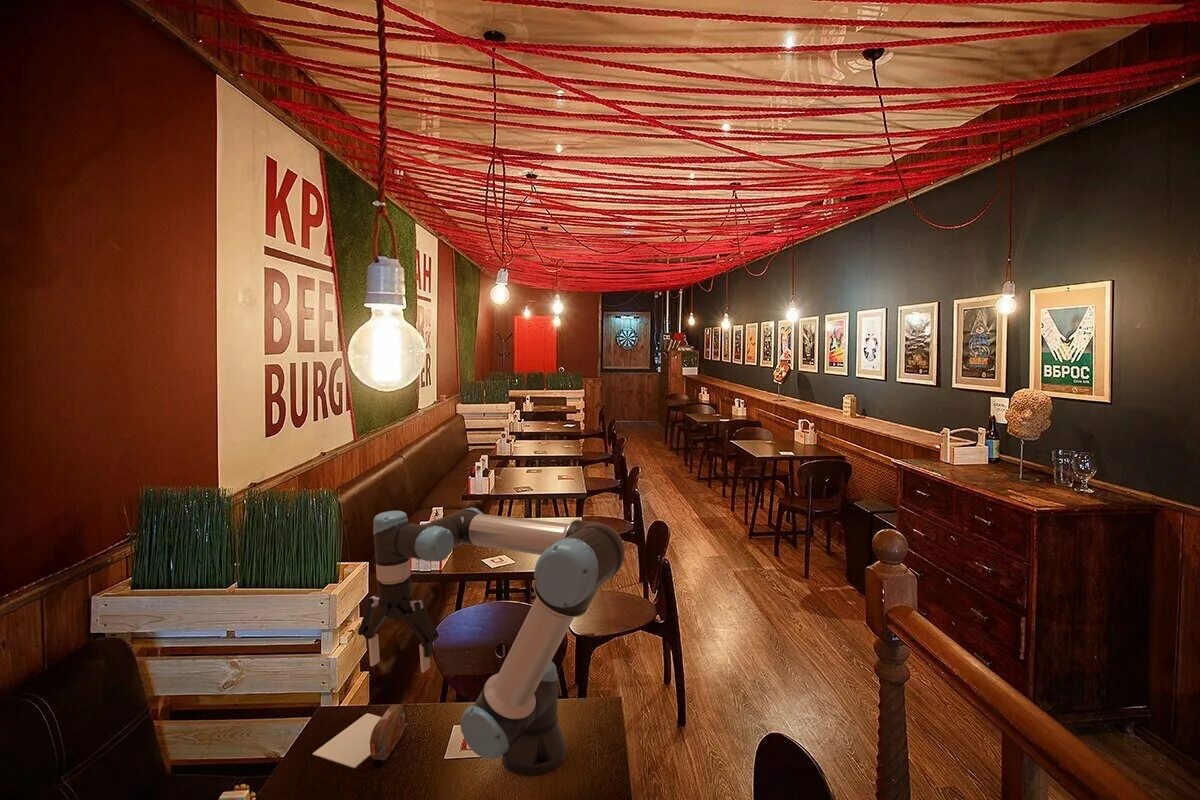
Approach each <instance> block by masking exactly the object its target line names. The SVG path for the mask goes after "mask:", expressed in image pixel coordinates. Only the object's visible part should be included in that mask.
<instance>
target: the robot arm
mask: <svg viewBox="0 0 1200 800" xmlns="http://www.w3.org/2000/svg"><path fill="white" fill-rule="evenodd" d="M408 521H409V519H408V515H407V513H406V512H404V511H402V510H389V511H384V512H380V513H378V514H377V515H375V516H374V518H373V532H372V535H373V540H374V541H373V543H374V553H375V555H374V556H375V570H376V571H375V573H376V581H377V584H376V587H377V594H374V595H373V596H370V597H369V598H367V601H366V609H365V612H364V614H363V617H362V620H361V621H360V625H359V627H358V630H357V635H358V636H363V637H364V638H365V645H366V651H368V652H369V654H368V655H369V667H374V666H375V665H377V664H378V663H379V662H380V661H381V659H380V657H381V656H380V646H379V645H380V643H379V641H380V640H379V634H376V633H377V631H378V630H379V628H380V627H381V625H382V624H383V623H384V621H385V620H386V619H387V618H388V619H389V620H391V619H396V620H399V621H400V620H402V622H403V623H406V624H407V625H408V627H409V628H410V629H411V631H413V633H414V634H415V636H416V637H417V638H418V640H419V641H420V642H421V643H420V644H419V646H418V647H419V660H420V661H419V662H420V672H421V673H425V672H426V671H428V669H429V668H431V656H432V654H433V648H432V647H433V643H434V642H435V641H436V640H438V639H439V637H440V634H439V632H438V631H437V628H436V627H435V624H434V623H433V620H432V618H431V617H430V614H429V612H428V610H427V608H426V604H425V603H426V602H425V600H424V598H419V600H413V598H412V592H413V589H412V578H411V559H416V560H422V561H425V562H442V561H445V560H447V558H448V557H449V555H450V554H451V553H452V552H453V549H454V548H457V547H459V546H460V545H469V546H475V547H477V546H478V547H482V548H483V547H484V548H491V549H496V550H497V549H498V550H504V551H512V552H517V553H524V554H529V555H531V554H532V555H539V557H538V559H537V561H536V563H535V566H534V570H533V571H534V572H533V573H534V574H533V578H534V580H535V582H534V586H533V590H534V594H535V596H536V598H535V599H534V601H533V603H532V606H531V607H530V609H529V611H528V613H527V615H526V618H525V619H524V621H523V623H522V625H521V627H520V629H519V631H518V634H517V636H516V638H515V640H514V642H513V643H512V644H511V645H512V646H511V647H510V650H509V651H508V653H507V656H506V658H505V659H504V661H503V663H502V666H501V667H500V670H499V671H498V673H495V674H493V675H491V676H490V677H488V679H487V680H486V682H485V684H484V686H483V688H482V690H481V692H480V694H479V696H478V697H477V699H476V701H474V702H473V704H472V705H471V704H470V705H469V706H468V707H467V708H466V709H465V711H463V713H462V715H461V716H460V730H461V734H462V736H463V739H464V742H465V743H466V745H467V746H468V747H469V748H470V750H471V751H472V752H474V753H475V754H476V755H477V756H479V757H480V758H482V759H484V760H485V759H486V760H496V759H498V758H499V757H501V762H502V764H503V766H504V768H506V769H507V770H508V771H510V772H512V773H514V774H517V775H519V776H525V777H526V776H529V777H533V776H534V777H535V776H540V775H544V774H545V775H546V774H547V773H550V772H553V771H554V770H556V769H557V768H559V766H561V765H562V763H563V762H564V761H565V759H566V755H567V743H566V739H565V738H564V734H563V731H562V729H561V725H560V723H559V712H558V711H559V710H558V709H559V705H558V703H559V702H558V701H559V700H558V697H559V695H558V687H559V686H558V681H559V680H558V679H559V677H558V671H557V665H556V664H555V663H554V661H552V660H553V658H554V657H555V655H556V653H557V650H558V649H559V647H560V645H561V644H562V641H563V640H564V637H565V635H566V633H567V632H568V629H569V628H570V627H571V624H572V622H573V621H574V618H579V617H581V616H583V615H584V614H585V613H587V611H588V608H589V606H590V604H591V603H592V601H593V599H594V598H595V595H596V594H597V592H598V590H599V589H600V588H601V587H602V586H603V585H604V584H606V583H607V582H608V581H609V580H610V579H612V578H613V577H614V576H615V575H617V574H618V572H619V571H620V570H621V568H622V566H623V565H624V561H625V557H626V555H625V554H626V553H625V551H626V550H625V544H624V541H623V539H622V537H621V535H620V534H619V532H617V531H616V529H614V528H613V527H612V526H610V525H608V524H605V523H602V522H597V521H589V520H580V519H575V520H572V521H571V522H570V523H566V522H565V523H564V522H556V521H548V520H546V521H545V520H539V519H538V520H537V519H529V518H527V519H526V518H519V517H511V516H503V515H501V516H500V515H494V514H484V513H483V512H482V511H480V510H479V509H478V508H476V507H469V508H468V507H467V508H463V509H460V510H458V511H456V512H453V513H451V514H448V515H445V516H444V517H441V518H438V519H435V520H433V521H430V522H427V523H425V524H420V523H419V524H418V523H411V522H408ZM378 606H379V607H380V609H381V611H380V612H379V613H378V615H377V617H376V618H375V620H374V621H373V618H374V615H375V613H376V610H377V608H378ZM372 621H373V623H372ZM371 623H372V624H371Z"/></svg>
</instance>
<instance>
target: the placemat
mask: <svg viewBox="0 0 1200 800" xmlns="http://www.w3.org/2000/svg"><path fill="white" fill-rule="evenodd" d="M381 717H382V716H379V715H375V714H373V713H372V714H371V713H365V714H364V715H362V716H361V717H359V718H358V719H357V720H356V721H354V722H353V723H352V724H351V725H349V726H348V727H346V728H345V729H344V730H342V731H341V732H339V733H337V734H336V736H334V737H333V738H332V739H331V738H330V740H328V741H327V742H326V743H325V744H323V745H322V746H320V747H319V748H318V749H317V750H315V751H314V752H313V753H312V756H316V757H320V758H322V759H326V760H328V761H331V762H334V763H337V764H340V765H342V766H346V767H349V768H351V769H355V768H357V767H359V765H361V763H363V762H364V761H366V759H368V758H369V757H371V753H370V738H371V734H372V731H373V729H374V727H375V725H376V724H377V722H378V721H379V720H380V718H381ZM406 726H407V723H406V725H405V727H406Z"/></svg>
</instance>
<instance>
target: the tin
mask: <svg viewBox="0 0 1200 800" xmlns="http://www.w3.org/2000/svg"><path fill="white" fill-rule="evenodd" d="M380 717H381V718H380V720H379V721H378V722H377V724H376V725H375V727H374V729H373V731H372V734H371V738H370V753H371V755H370V757H371V759H373V760H377V761H378V760H379V761H381V762H382V761H386V760H387V759H388V758H389V756H390V754H391V753H392V752H393V750H394V749H395V747H396V746H397V745H398V743H399V741H400V740H401V738H402V737H403V735H404V732H405V729H406V726H407V725H406V724H407V707H406V706H405V704H403V703H400V704H398V703H394V704H393V703H392V704H391V705H389V707H388V708H387V709H386V710H385V712H384V714H382V716H380ZM405 725H406V726H405Z"/></svg>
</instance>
